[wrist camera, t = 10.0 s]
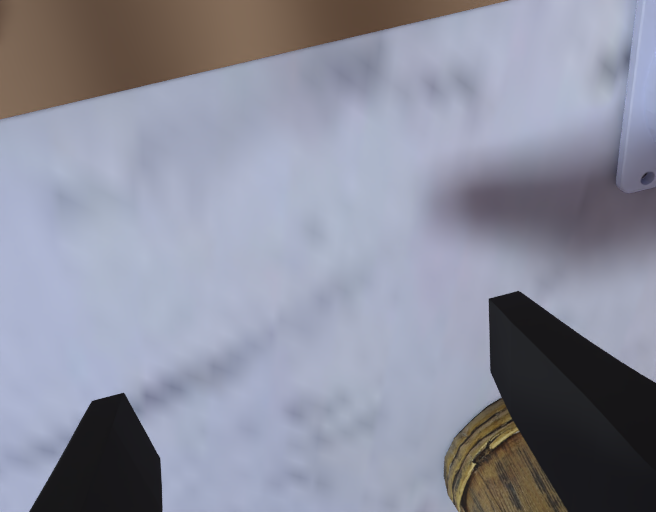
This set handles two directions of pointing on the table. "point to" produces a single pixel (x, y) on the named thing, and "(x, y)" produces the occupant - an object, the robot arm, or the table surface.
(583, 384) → the robot arm
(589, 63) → the table surface
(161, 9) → the walnut board
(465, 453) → the wooden mug
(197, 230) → the table surface
